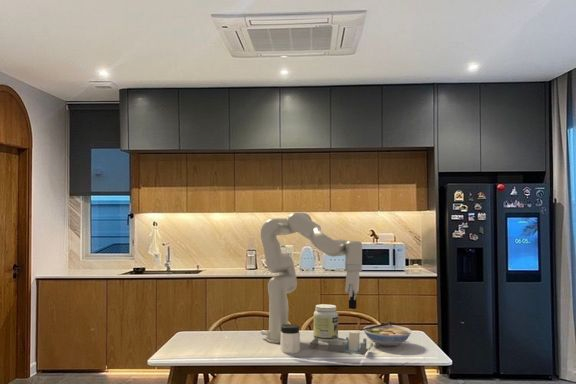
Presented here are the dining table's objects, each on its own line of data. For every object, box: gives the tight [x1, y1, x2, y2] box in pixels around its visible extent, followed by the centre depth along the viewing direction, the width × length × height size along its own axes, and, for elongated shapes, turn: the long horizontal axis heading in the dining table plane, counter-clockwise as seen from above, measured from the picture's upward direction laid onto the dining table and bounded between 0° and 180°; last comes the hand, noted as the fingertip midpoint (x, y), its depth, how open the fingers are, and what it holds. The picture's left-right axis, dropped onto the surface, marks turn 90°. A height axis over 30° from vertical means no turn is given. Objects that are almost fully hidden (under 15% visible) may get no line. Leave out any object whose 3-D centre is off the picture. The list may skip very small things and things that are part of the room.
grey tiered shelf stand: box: [309, 336, 367, 355], centre depth 228 cm, size 24×10×6 cm, turn 73°
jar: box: [279, 323, 301, 354], centre depth 225 cm, size 9×8×12 cm
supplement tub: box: [313, 303, 339, 342], centre depth 248 cm, size 12×12×17 cm
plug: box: [348, 330, 360, 351], centre depth 226 cm, size 4×4×8 cm
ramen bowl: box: [360, 321, 412, 348], centre depth 240 cm, size 25×23×8 cm
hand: (352, 308), depth 228 cm, fingers closed
